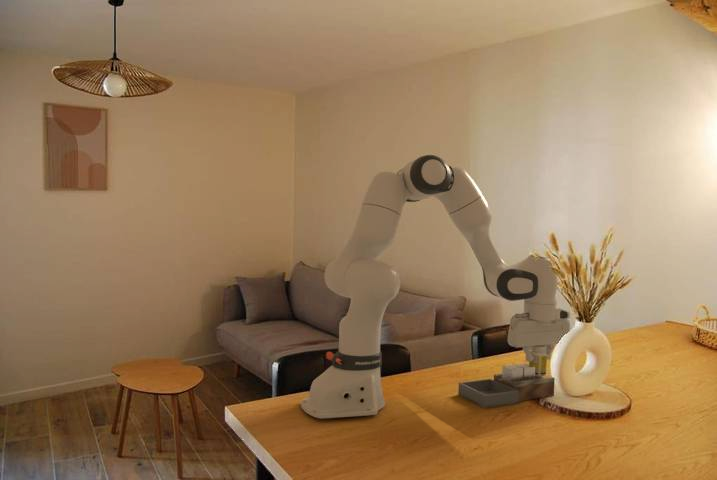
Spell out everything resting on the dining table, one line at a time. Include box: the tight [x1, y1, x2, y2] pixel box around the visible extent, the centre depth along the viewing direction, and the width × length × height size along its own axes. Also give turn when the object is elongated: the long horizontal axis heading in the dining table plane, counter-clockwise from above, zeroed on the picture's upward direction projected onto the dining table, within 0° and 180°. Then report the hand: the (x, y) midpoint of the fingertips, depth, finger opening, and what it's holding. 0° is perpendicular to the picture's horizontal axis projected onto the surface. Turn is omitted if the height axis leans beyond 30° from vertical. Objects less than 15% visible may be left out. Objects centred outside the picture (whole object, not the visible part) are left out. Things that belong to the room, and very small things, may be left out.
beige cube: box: [501, 364, 523, 384], centre depth 151 cm, size 4×4×4 cm
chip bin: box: [457, 378, 520, 410], centre depth 148 cm, size 11×12×3 cm
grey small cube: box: [514, 362, 535, 381], centre depth 153 cm, size 4×4×4 cm
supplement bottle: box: [528, 345, 548, 377], centre depth 155 cm, size 5×5×8 cm
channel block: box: [493, 373, 555, 402], centre depth 153 cm, size 14×9×5 cm, turn 115°
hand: (538, 360), depth 155 cm, fingers closed on supplement bottle, 5 cm apart
